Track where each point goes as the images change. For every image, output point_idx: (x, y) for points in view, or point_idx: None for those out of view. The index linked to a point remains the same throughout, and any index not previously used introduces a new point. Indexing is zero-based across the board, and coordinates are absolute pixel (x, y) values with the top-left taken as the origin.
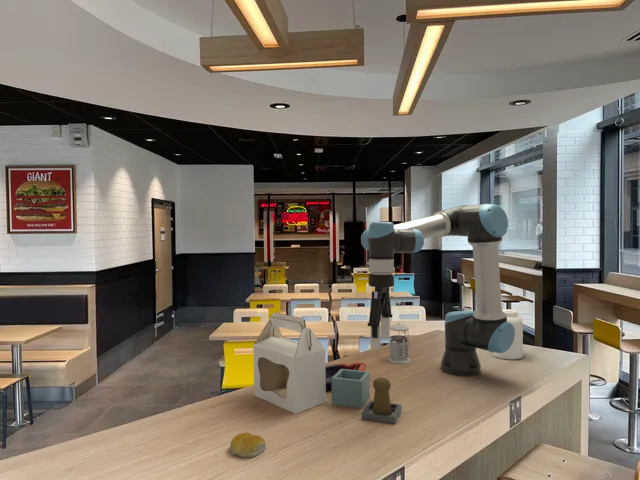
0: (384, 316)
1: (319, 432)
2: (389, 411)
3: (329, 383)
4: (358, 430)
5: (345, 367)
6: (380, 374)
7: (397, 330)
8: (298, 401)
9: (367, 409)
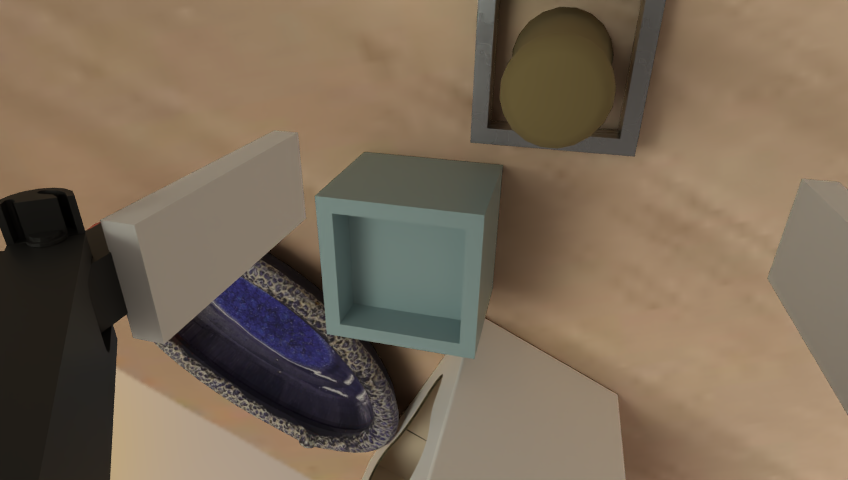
0: (109, 306)
1: None
2: (587, 19)
3: None
4: (762, 140)
5: None
6: (92, 146)
7: None
8: (607, 419)
9: None
